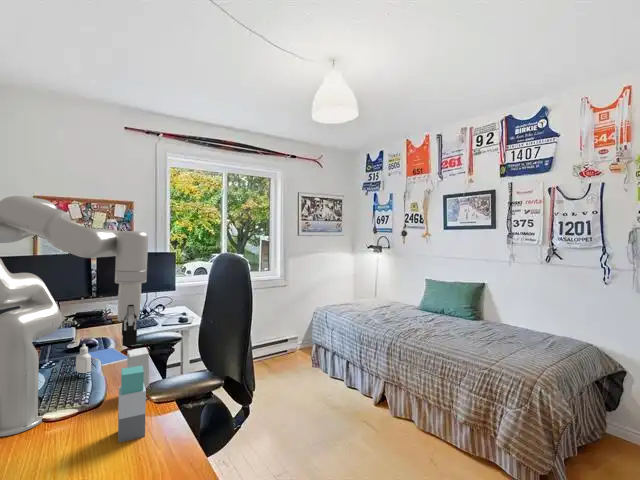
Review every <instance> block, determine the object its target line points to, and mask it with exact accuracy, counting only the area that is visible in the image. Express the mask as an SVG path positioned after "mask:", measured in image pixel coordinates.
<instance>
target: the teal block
mask: <svg viewBox="0 0 640 480" xmlns="http://www.w3.org/2000/svg"><path fill="white" fill-rule="evenodd" d="M120 375H121V377H120V379H121V380H120V387H121V394H122V395H123V394H128V393H134V392H139V391H143V384H144V371H143V366H136V367H129V368H127V367H124V368H121V373H120Z"/></svg>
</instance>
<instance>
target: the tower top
mask: <svg viewBox="0 0 640 480" xmlns="http://www.w3.org/2000/svg"><path fill="white" fill-rule="evenodd" d="M146 403H147V402H146V389H145V385H144V384H143V391H139V392H134V393H128V394H123V395H122V394H121V386H118V407H117V408H118V410H119V419H124V418H128V417H133V416H137V415H142V414H145V415H146V409H147V408H146Z"/></svg>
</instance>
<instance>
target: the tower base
mask: <svg viewBox="0 0 640 480" xmlns="http://www.w3.org/2000/svg"><path fill="white" fill-rule="evenodd" d="M117 418H118V420H117V421H118V423H117V436H118V439H117V440H118V444H120V443H123V442H124V443H125V442H128V441H131V440H136V439H139V438H140V439H141V438H144V437H146V413H145V414H142V415H137V416H133V417H128V418H124V419H119V410H118V416H117Z"/></svg>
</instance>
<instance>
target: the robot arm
mask: <svg viewBox="0 0 640 480" xmlns="http://www.w3.org/2000/svg"><path fill="white" fill-rule="evenodd" d="M34 235H35V236H37V237H41V238H44V239H46V241H47V242H48V243H49V244H50V245H51V246H52V247H54V248H56V249H57V250H60V251H63V252H66V253H68V254H71V255H74V256H76V257H80V258H84V259H93V258H94V259H96V258H109V257H115V267H114V268H115V269H114V270H115V271H114V283H115V284H118V295H117V296H118V297H117V321H118V322H119V323H121V336H122V341H121V343H122V347H128V346H135V345H137V342H138V341H137V339H138V337H137V335H138V329H137V321H138V320H139V319H140V311H141V303H142V301H141V300H142V284H145V283H147V276H148V275H147V274H148V253H149V252H148V250H149V249H148V248H149V244H148V243H149V236H148V234H147V233H146V232H144V231H139V230H138V231H137V230H134V231H133V230H119V229H110V228H109V229H108V228H107V229H106V228H90V227H85V226H82V225H80V224H76V223H73V222H72V221H71V217H70V215H69V213H67V211H65V210H62V209H59V208H57V206H56V205H55V204H54V203H53V202H51V201H49V200H47V199H45V198H38V197H37V198H36V197H31V196H29V197H28V196H23V195H22V196H21V195H11V196H7V197H5V198H2V199H1V200H0V244H10V243H17V242H19V241H22V240H24V239H26V238H29V237H30V236H34ZM14 307H19V308H15V309H12V310H8V311H5V312H2V313H1V314H0V437H7V436H12V435H17V434H20V433H22V432H25V431H29V430H30V429H33V428H35V427H36V426H38V425H40V424H41V423H42V422H43V421H42V419H43V417H39V416H38V410H39V365H40V363H39V361H40V360H39V359H40V358H39V353H38V351H37V349H36V347H35V345H34V344H33V341H35V340H37V339H39V338H43V337H45V336H48V335H51V334H53V333H55V332H56V331H57V330H58V329H59V328H60V326H62V321H63V318H62V317H63V316H62V313H61V309H60V307H59V306H58V304H57V303H56V301H55V299H54V297H53V295H52V293H51V292H50V290H49V288H48V287H47V285H46V283H45V282H44V280H43V279H41V278H40V277H39V276H38V275H36V274H34V273H30V272H18V273H16V272H15V273H12V272H10V271H9V270H8V269H7V267H6V266H5V264H4V262H3V260H2V258H0V311H1V310H6V309H10V308H14ZM37 416H38V417H37Z"/></svg>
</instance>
